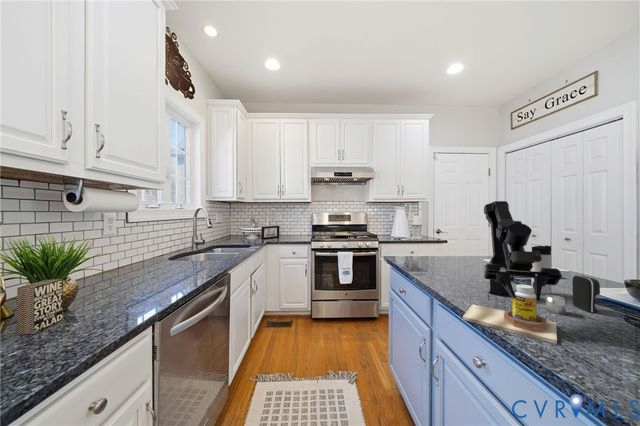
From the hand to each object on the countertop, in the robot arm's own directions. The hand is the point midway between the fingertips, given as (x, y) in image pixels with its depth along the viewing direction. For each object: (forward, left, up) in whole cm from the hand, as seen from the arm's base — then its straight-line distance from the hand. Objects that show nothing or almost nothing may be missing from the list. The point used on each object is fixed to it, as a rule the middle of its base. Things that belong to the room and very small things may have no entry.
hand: (525, 299), depth 74 cm
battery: (+15, +32, -9) cm, 36 cm away
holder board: (-4, +1, -9) cm, 10 cm away
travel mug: (+3, +44, -9) cm, 45 cm away
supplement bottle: (0, +1, -7) cm, 7 cm away
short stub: (+7, +22, -9) cm, 25 cm away
